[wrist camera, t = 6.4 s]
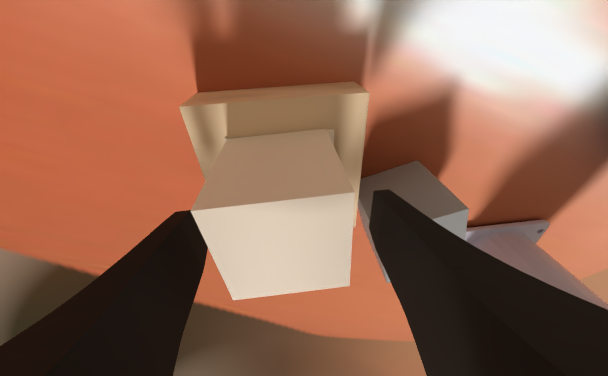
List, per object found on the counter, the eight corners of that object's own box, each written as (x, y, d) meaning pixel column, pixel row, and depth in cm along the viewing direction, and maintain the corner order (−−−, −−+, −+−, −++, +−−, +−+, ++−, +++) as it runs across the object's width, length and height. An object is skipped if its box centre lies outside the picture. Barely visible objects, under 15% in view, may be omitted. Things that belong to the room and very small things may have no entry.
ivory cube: (327, 205, 13) (349, 286, 9) (248, 214, 13) (233, 300, 9) (325, 128, 10) (354, 192, 6) (226, 138, 10) (190, 211, 6)
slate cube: (420, 208, 18) (462, 263, 13) (362, 225, 18) (386, 283, 14) (417, 159, 15) (468, 208, 11) (351, 181, 16) (376, 235, 11)
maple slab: (344, 198, 17) (355, 228, 14) (234, 208, 16) (226, 241, 14) (351, 79, 12) (370, 92, 10) (200, 90, 12) (178, 107, 9)
